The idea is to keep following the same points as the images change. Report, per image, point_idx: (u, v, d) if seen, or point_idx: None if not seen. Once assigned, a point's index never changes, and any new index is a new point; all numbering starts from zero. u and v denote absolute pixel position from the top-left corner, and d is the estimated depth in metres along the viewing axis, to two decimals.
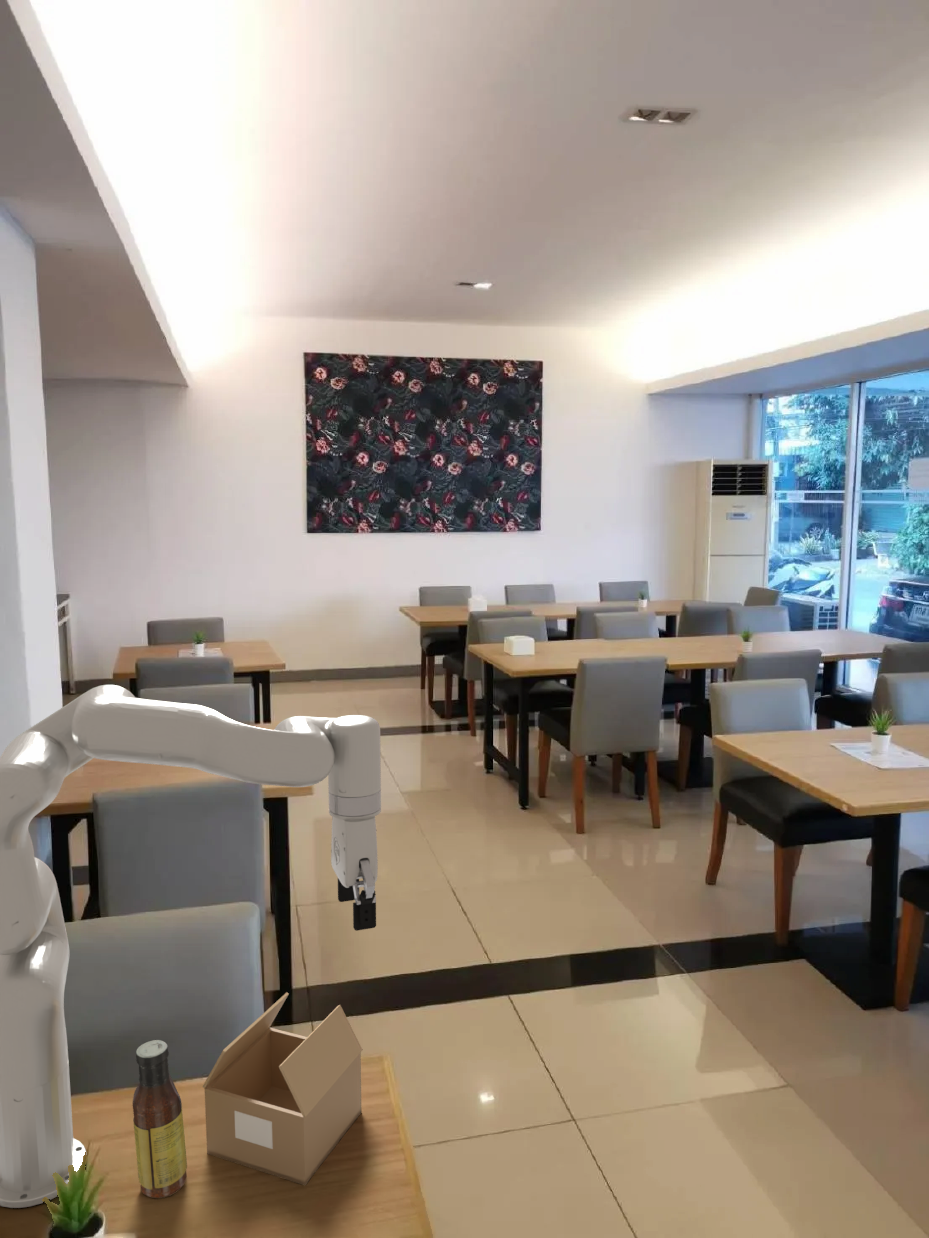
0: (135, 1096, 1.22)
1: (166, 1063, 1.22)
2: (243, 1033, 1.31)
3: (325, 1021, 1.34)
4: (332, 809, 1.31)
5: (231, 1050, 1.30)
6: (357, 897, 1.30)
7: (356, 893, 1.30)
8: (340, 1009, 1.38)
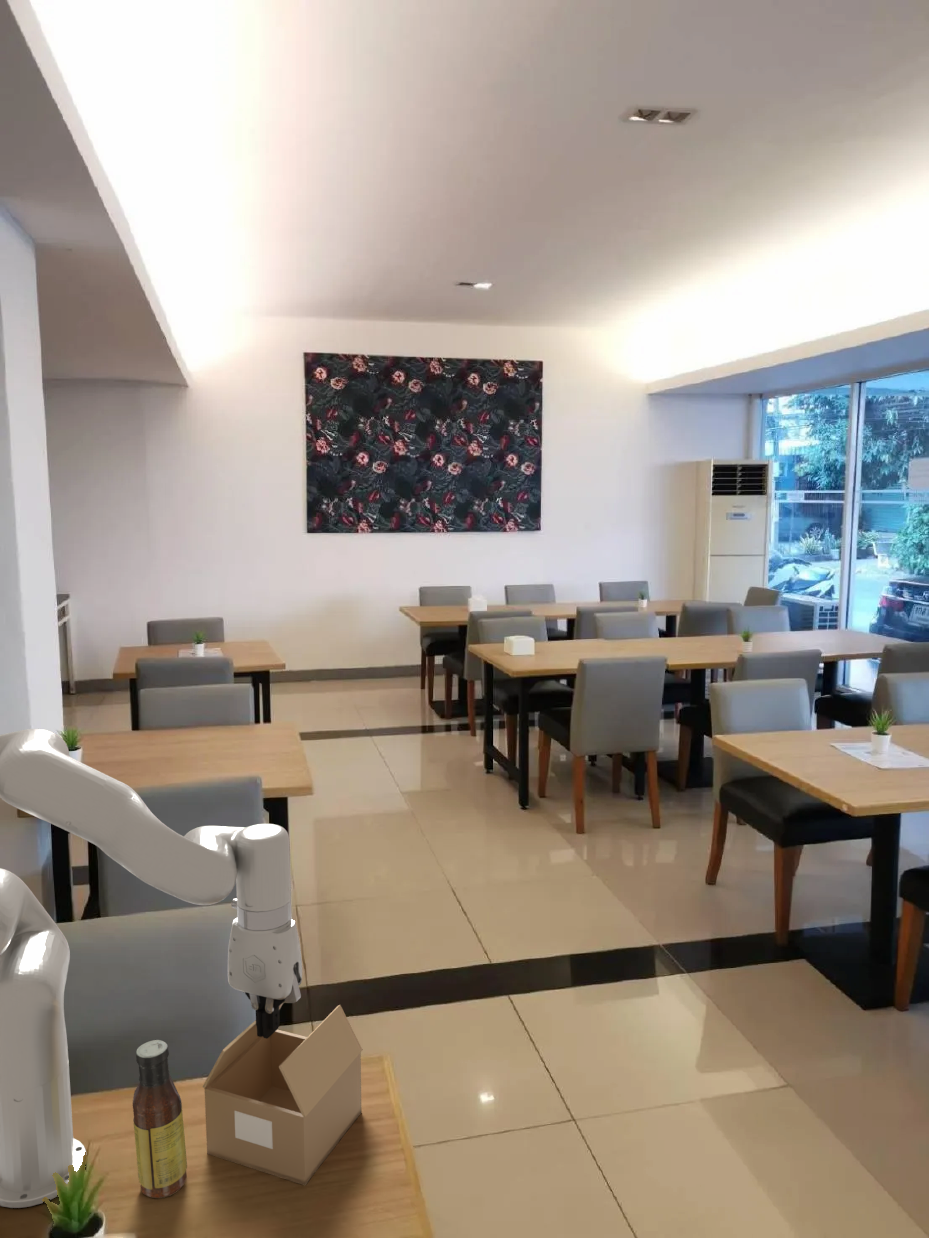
0: (135, 1096, 1.22)
1: (166, 1063, 1.22)
2: (243, 1033, 1.31)
3: (325, 1021, 1.34)
4: (256, 927, 1.28)
5: (231, 1050, 1.30)
6: (273, 1008, 1.31)
7: (272, 1005, 1.31)
8: (340, 1009, 1.38)
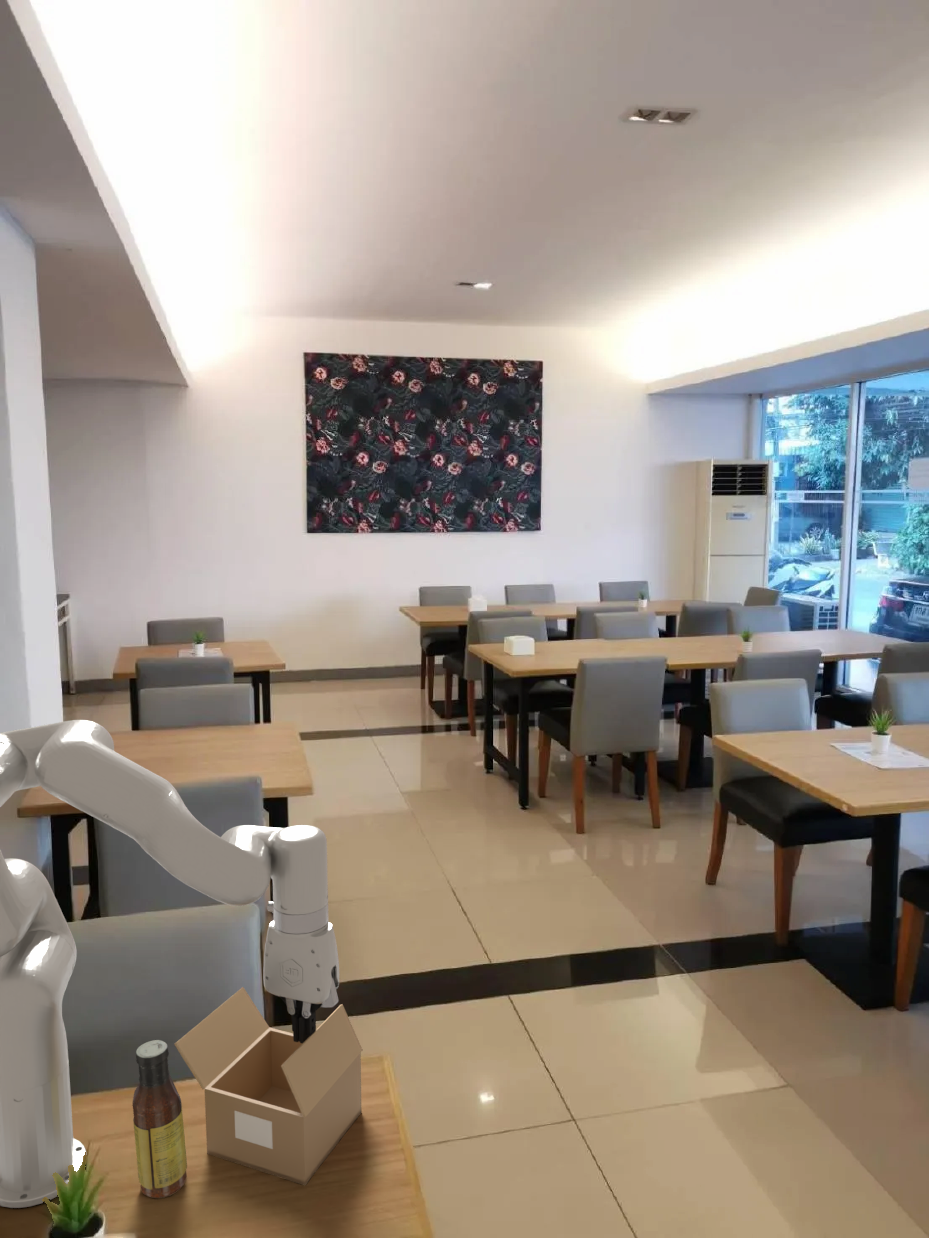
0: (135, 1096, 1.22)
1: (166, 1063, 1.22)
2: (195, 1026, 1.34)
3: (327, 1020, 1.34)
4: (294, 930, 1.25)
5: (194, 1043, 1.32)
6: (310, 1012, 1.29)
7: (310, 1010, 1.29)
8: (342, 1008, 1.38)
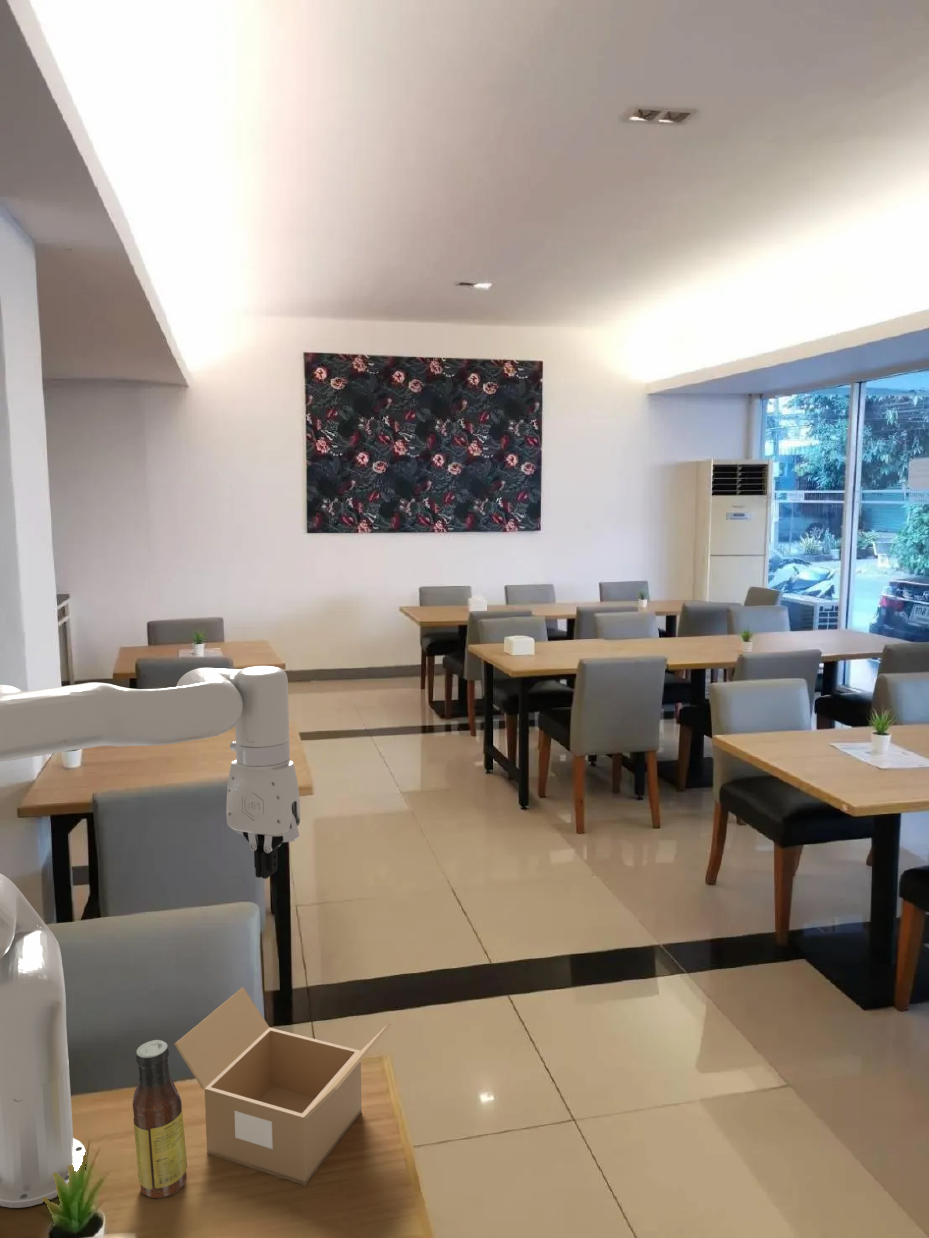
0: (135, 1096, 1.22)
1: (166, 1063, 1.22)
2: (195, 1026, 1.34)
3: (376, 1041, 1.31)
4: (255, 762, 1.29)
5: (194, 1043, 1.32)
6: (271, 847, 1.33)
7: (271, 844, 1.33)
8: (387, 1028, 1.35)
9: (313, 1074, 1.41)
